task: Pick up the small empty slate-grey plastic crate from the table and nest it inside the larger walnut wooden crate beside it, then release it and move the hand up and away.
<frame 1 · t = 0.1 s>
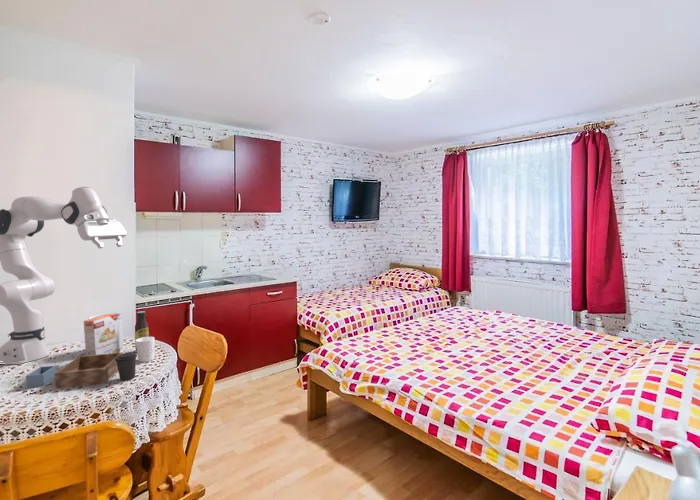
hand: (111, 247, 169), 54 cm above the table, tool tilted 30°, fingers open, 8 cm apart
coffee cup: (127, 378, 160), on the table
small crate: (42, 382, 159), on the table
big crate: (92, 375, 164), on the table
sauce bottle: (142, 350, 195), on the table
white container: (108, 349, 199), on the table
white cup: (146, 360, 182), on the table
cracker box: (104, 360, 183), on the table
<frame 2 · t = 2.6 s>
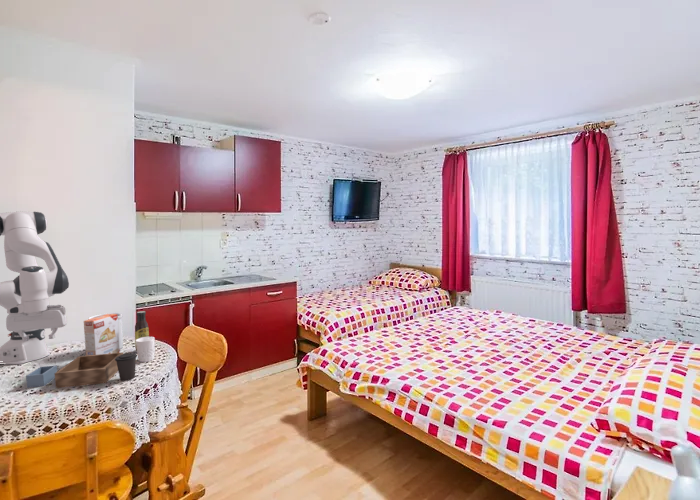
hand: (39, 339, 158), 18 cm above the table, tool pointing down, fingers open, 8 cm apart
nothing on the table moved.
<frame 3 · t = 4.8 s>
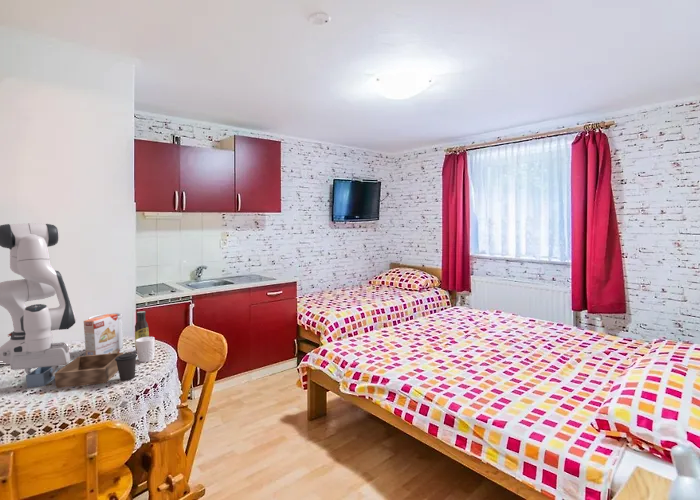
hand: (42, 377, 159), 2 cm above the table, tool pointing down, fingers closed on small crate, 6 cm apart
small crate: (42, 381, 159), on the table, touching gripper
everything else where it was.
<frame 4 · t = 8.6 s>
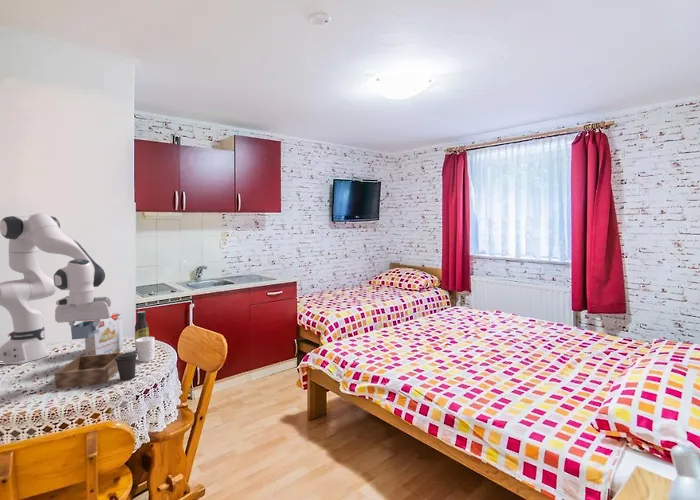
hand: (85, 330, 162), 20 cm above the table, tool pointing down, fingers closed on small crate, 6 cm apart
small crate: (86, 335, 162), point 18 cm above the table, touching gripper
everything else where it was.
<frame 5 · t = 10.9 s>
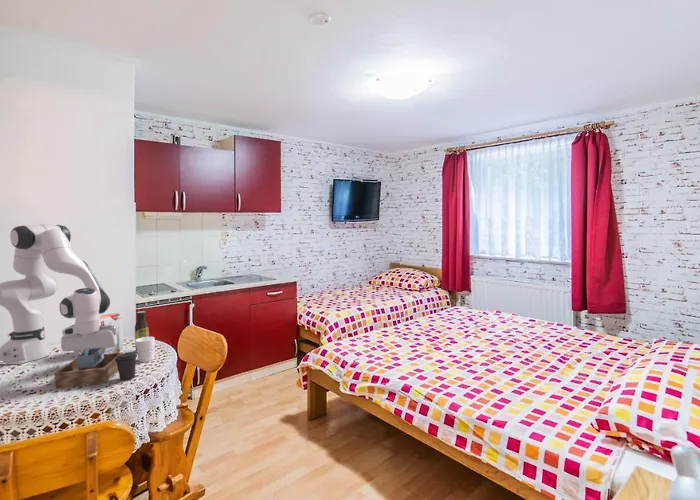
hand: (91, 358, 163), 7 cm above the table, tool pointing down, fingers closed on small crate, 6 cm apart
small crate: (91, 363, 163), point 6 cm above the table, touching gripper
everything else where it was.
when the fingers open (4 cm above the table, at t = 12.6 s): small crate drops 1 cm, resting on big crate.
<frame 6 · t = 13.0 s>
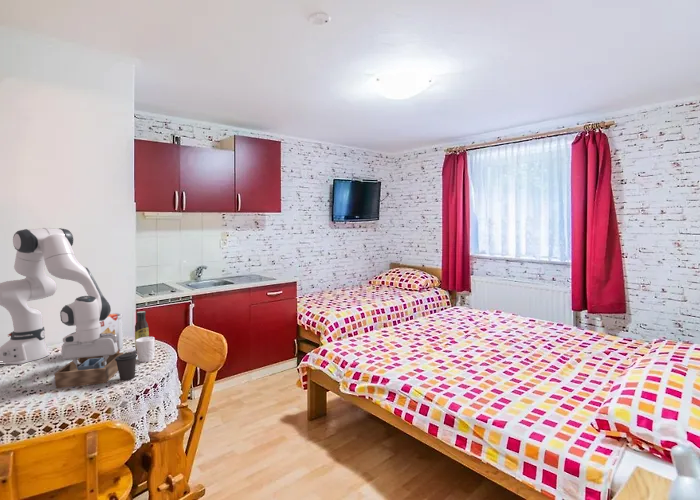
hand: (91, 366, 164), 4 cm above the table, tool pointing down, fingers open, 8 cm apart
small crate: (92, 373, 164), point 1 cm above the table, touching big crate
everything else where it was.
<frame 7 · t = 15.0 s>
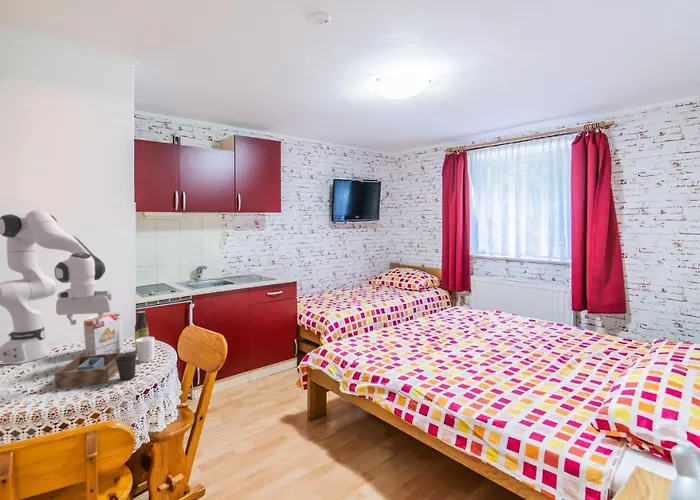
hand: (85, 323, 164), 22 cm above the table, tool pointing down, fingers open, 8 cm apart
nothing on the table moved.
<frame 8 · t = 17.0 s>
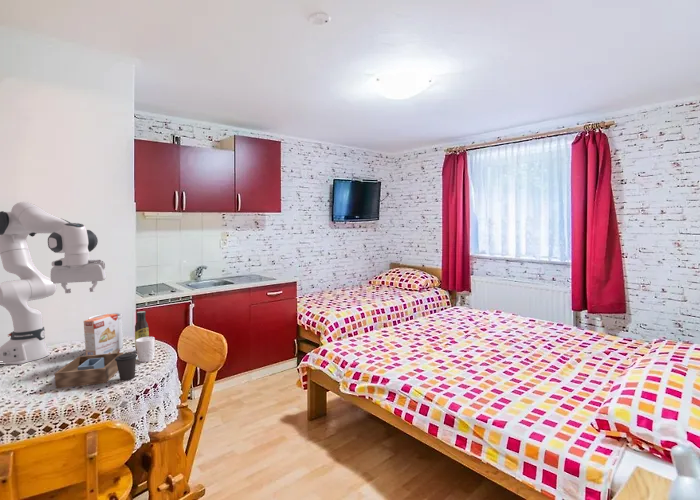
hand: (80, 292, 167), 35 cm above the table, tool pointing down, fingers open, 8 cm apart
nothing on the table moved.
at the end: small crate inside the target area on the big crate (0.1 cm from its centre), point 1.0 cm above the big crate's base; small crate tilted 0°; the gripper is holding nothing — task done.
